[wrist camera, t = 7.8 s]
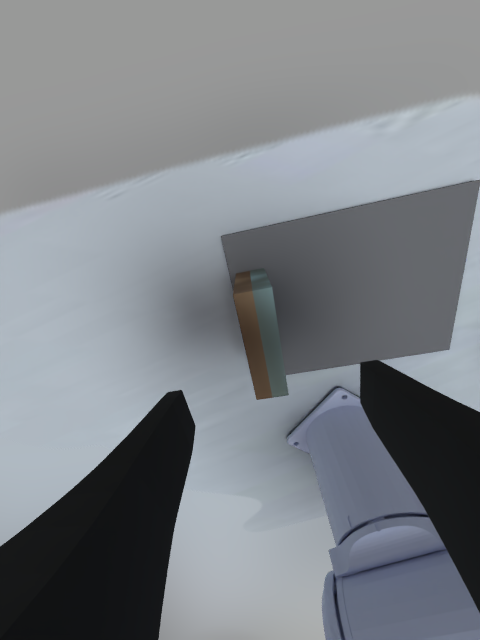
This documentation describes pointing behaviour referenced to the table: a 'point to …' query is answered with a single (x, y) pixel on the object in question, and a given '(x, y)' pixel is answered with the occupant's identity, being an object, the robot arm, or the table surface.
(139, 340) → the table surface
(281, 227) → the mat
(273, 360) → the tile
